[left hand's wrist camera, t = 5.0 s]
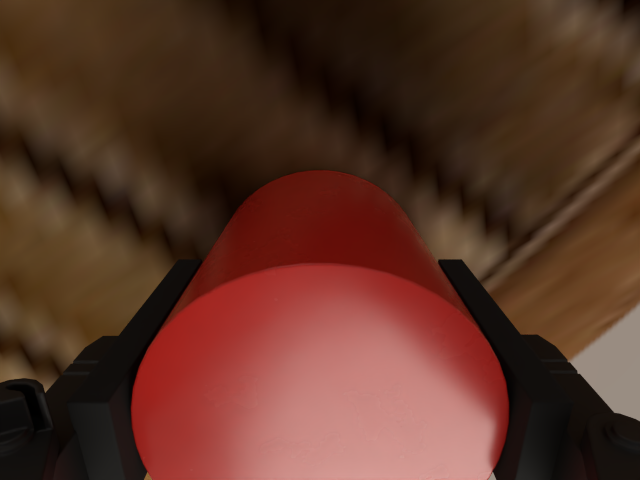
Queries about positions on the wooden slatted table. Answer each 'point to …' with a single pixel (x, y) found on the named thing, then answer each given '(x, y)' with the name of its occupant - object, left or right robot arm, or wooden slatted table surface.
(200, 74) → the wooden slatted table surface
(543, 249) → the wooden slatted table surface
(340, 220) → the cylinder
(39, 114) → the wooden slatted table surface
